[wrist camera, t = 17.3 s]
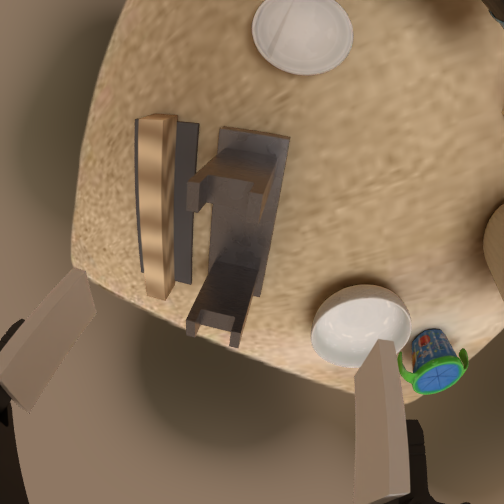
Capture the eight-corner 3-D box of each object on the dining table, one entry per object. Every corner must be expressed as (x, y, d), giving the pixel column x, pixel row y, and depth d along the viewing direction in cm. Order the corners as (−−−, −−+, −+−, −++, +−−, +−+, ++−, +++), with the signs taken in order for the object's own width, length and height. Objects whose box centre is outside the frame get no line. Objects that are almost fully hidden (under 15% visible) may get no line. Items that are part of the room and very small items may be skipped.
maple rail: (154, 113, 38) (138, 118, 34) (177, 115, 38) (163, 120, 34) (157, 280, 55) (146, 295, 51) (174, 284, 54) (165, 300, 51)
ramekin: (250, 6, 29) (241, -3, 24) (337, -6, 26) (340, -17, 22) (269, 82, 34) (263, 82, 30) (355, 72, 31) (362, 70, 27)
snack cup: (468, 323, 48) (483, 361, 40) (446, 357, 54) (456, 394, 45) (405, 318, 50) (415, 361, 42) (386, 354, 56) (391, 395, 47)
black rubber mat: (137, 118, 39) (135, 119, 39) (199, 123, 39) (197, 124, 38) (142, 270, 55) (141, 272, 54) (191, 282, 54) (190, 284, 54)
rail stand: (223, 126, 38) (178, 153, 25) (290, 137, 38) (279, 170, 25) (210, 278, 53) (180, 344, 40) (261, 289, 52) (243, 361, 39)
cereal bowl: (354, 251, 45) (359, 279, 39) (421, 298, 47) (431, 327, 41) (293, 316, 54) (290, 345, 48) (359, 351, 56) (361, 379, 51)
